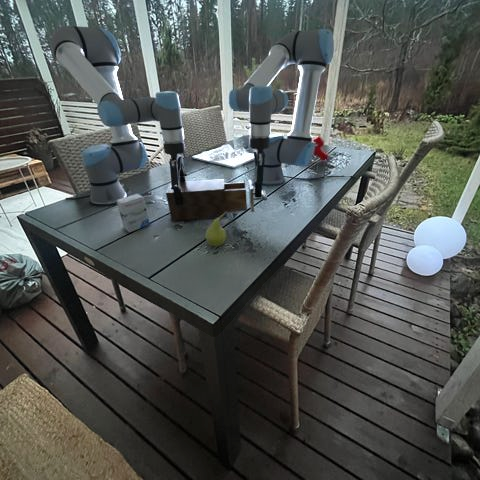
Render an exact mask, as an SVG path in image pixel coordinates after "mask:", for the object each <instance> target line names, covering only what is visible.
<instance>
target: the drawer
mask: <svg viewBox="0 0 480 480" xmlns="http://www.w3.org/2000/svg"><path fill="white" fill-rule="evenodd" d="M252 181H253V180H252V179H248V181H247V182H248V198H247V188H246V182H245V181H236V182H225V183H224V193H225V203H226V212H227V213H232V212H247V211H248V205H247V204H248V203H249V207H250V213H255V201H260V200H263V201H265V202H266V201H267V200H268V196H267V194H266V193H267V192H266V191H265V190H263V189H262V197H259V198H255V191H254V186H253V185H254V184H253V182H252ZM247 199H248V200H247ZM247 201H248V202H247Z"/></svg>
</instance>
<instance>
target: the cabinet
mask: <svg viewBox="0 0 480 480" xmlns="http://www.w3.org/2000/svg"><path fill="white" fill-rule="evenodd" d="M224 183H226V182H225V178H216V179H201V180H187V181H186V182H180V188H181V192H182V199H183V205H176V203H175V197H174V191H173V189H171V187H172V186H171V182H170V184H169V185H168V188H167V189H166V192H165V195H166V200H167V205H168V209H169V214H170V219H171V222H178V221H193V220H207V219H216V218H219V217H220V216H221V215H223V214H224V213H225V211H226V203H225V193H224ZM227 213H228V212H226V214H225V215H223V216H222V217H221V218H222V219H223V218H227V216H228V215H227ZM221 218H220V219H221Z"/></svg>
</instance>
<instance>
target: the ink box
mask: <svg viewBox="0 0 480 480" xmlns="http://www.w3.org/2000/svg"><path fill="white" fill-rule="evenodd" d="M116 201H117V204H116V205H117V208H118V212H119V216H120V219H121V222H122V223H121V224H122V226H123V228H124V230H126V232H128V233H132V232H134V231H137V230H140V229H142V228H145V227H148V226H149V225H150V224H151V223H150V219H149V215H148V210H147V205H146V201H145V197H144V196H142V195H141V194H140V193H135V194H132V195H129V196H128V195H127V197H125V198H122V199H118V200H116Z"/></svg>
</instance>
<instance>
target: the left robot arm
mask: <svg viewBox="0 0 480 480" xmlns="http://www.w3.org/2000/svg"><path fill="white" fill-rule="evenodd" d="M49 45H50V47H49V48H50V52H51V55H52V56H53V58H54V60H55V61H56V62H57V64H58V65H59V66H60V67H61V68H62V69H64V70H65V71H68V72H69V74H70V75H71V76H72V77H73V78H74V79H75V81H76V82H77V83H78V84H79V85H80V86H81V87H82V88H83V90H84V91H85V92H86V93H87V94H88V95H89V97H90V98H91V99H92V100H93V102H94V103H95V104H96V105H97V107H96V109H97V115H98V118H99V119H100V122H101V123H102V124H103V125H104V126H105V127H108V128H109V130H110V133H111V134H110V135H111V136H112V139H111V140H110V145H109V144H105V143H103V144H96V145H92V146H89V147H87V148H86V149H84V150H83V151H82V152H81V160H82V165H83V166H84V169H85V172H86V176H87V178H88V181H89V185H90V194H88V195H83V196H78V197H65V201H76V200H77V201H78V200H82V199H87V198H89V199H90V203H91V204H92V205H93V206H97V207H108V206H114V205H117V201H116V200H118V199H122V198H125V197H128V195H127V192H126V190H125V189H124V183H120V180H119V177H118V175H120V174H124V173H128V172H131V171H136V170H139V169H142V168H143V167H145V166H146V164H147V162H148V161H147V160H148V152H147V150H146V147H145V145H144V144H143V142H141V141H139V139H138V137H136V136H135V135H134V134H133V130H132V127H131V125H134V124H139V123H140V124H141V123H146V122H147V123H148V122H159V127H160V128H159V129H160V131H159V134H160V135H161V140H162V141H163V143H162V146H163V152H164V154H165V155H169V156H170V158H169V161H168V164H169V173H170V183H171V186H172V187H171V189H173V191H174V197H175V203H176V205H183V199H182V192H181V188H180V182H186V177H187V176H188V174H187V173H186V169H185V163H184V158H183V154H184V153H185V152H186V144H185V143H186V142H185V141H184V140H185V134H184V127H183V118H182V109H181V106H182V105H181V102H180V97H179V96H180V95H179V94H178V92H175V91H158V92H156V93H155V97H153V96H149V95H148V96H141V97H137V98H128V99H126V98H125V99H124V98H123V97H124V96H123V94H122V90H121V87H120V83H119V80H118V76H117V72H118V70H119V64H120V62H121V60H122V59H121V58H122V57H121V50H120V46H119V44H118V41H117V39H116V38H115V36H114V34H112V33H111V31H110V30H108V29H106V28H101V27H97V26H93V27H92V26H78V25H77V26H76V25H69V24H68V25H67V24H66V25H61V26H59V27H57V28H56V29H55V30H54V31H53V32H52V34H51V37H50V42H49Z"/></svg>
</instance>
